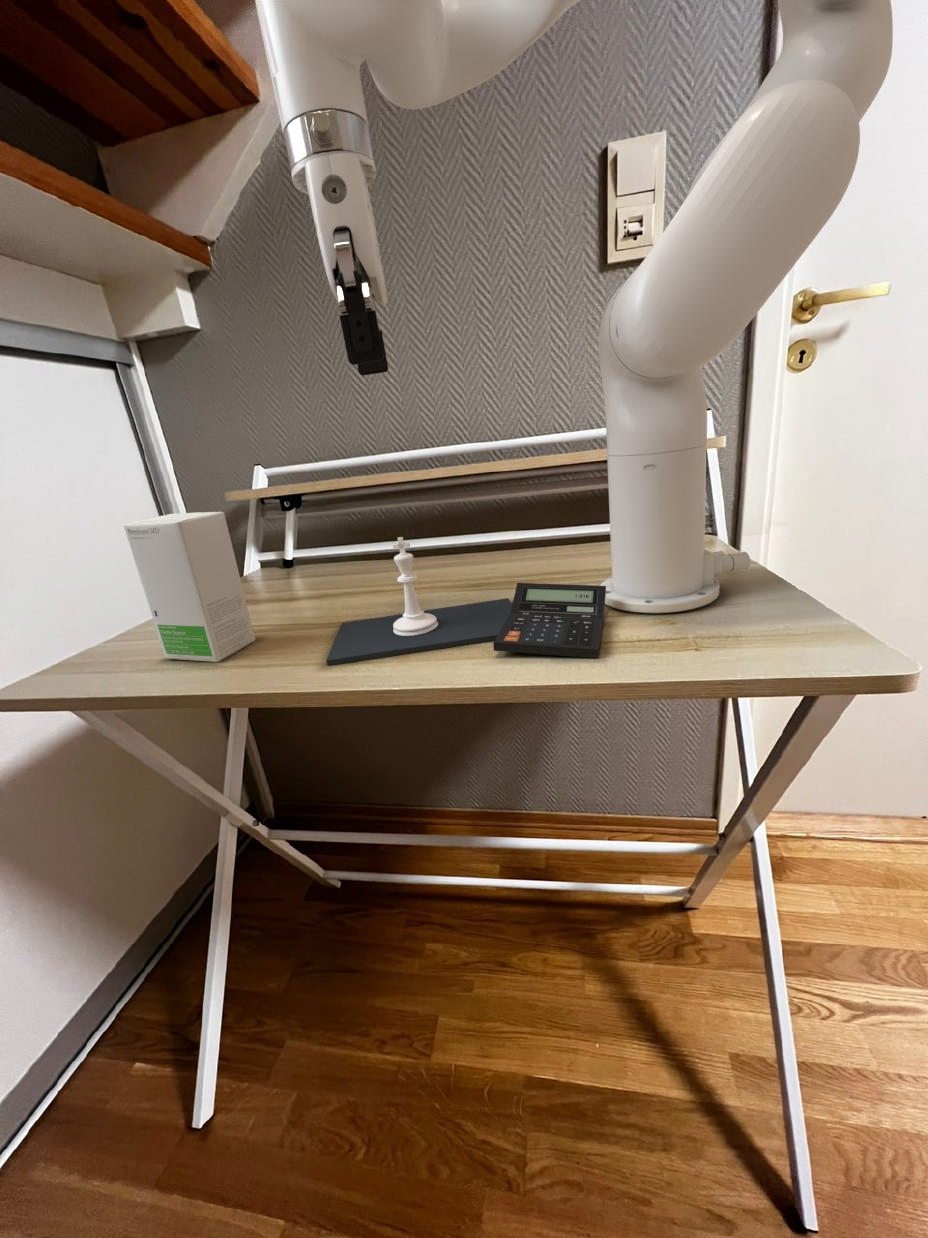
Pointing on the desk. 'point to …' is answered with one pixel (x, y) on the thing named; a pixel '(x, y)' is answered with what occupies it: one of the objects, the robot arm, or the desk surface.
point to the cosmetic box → (192, 584)
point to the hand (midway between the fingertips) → (370, 368)
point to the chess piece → (410, 598)
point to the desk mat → (451, 631)
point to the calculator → (554, 620)
